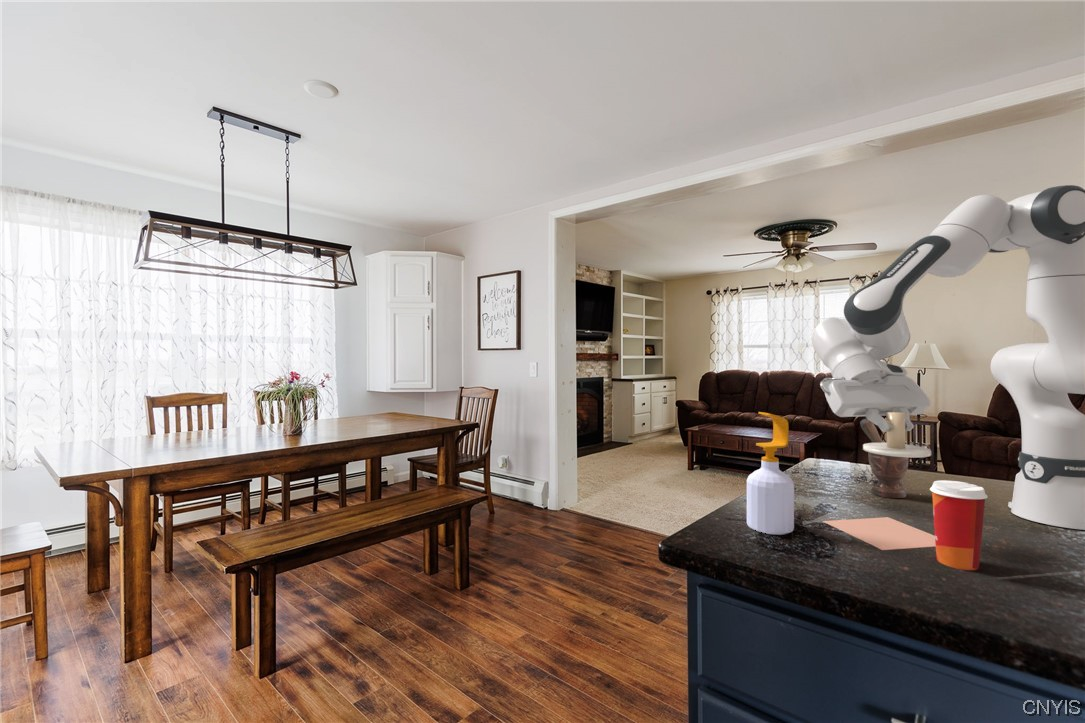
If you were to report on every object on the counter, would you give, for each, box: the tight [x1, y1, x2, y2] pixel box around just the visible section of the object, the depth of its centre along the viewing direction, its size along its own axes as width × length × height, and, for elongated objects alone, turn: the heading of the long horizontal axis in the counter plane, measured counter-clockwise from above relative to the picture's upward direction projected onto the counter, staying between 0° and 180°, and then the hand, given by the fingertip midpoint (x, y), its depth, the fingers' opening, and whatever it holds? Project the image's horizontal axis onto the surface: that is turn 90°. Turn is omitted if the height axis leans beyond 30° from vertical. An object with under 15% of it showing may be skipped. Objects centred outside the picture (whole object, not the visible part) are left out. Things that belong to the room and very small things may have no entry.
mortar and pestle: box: [859, 418, 909, 499], centre depth 128 cm, size 12×9×20 cm
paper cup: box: [929, 479, 988, 571], centre depth 86 cm, size 8×8×14 cm
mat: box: [822, 516, 936, 551], centre depth 101 cm, size 16×16×1 cm
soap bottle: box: [746, 411, 795, 536], centre depth 105 cm, size 9×9×25 cm
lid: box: [862, 412, 932, 459], centre depth 98 cm, size 11×11×8 cm
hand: (898, 429), depth 98 cm, fingers closed on lid, 3 cm apart
